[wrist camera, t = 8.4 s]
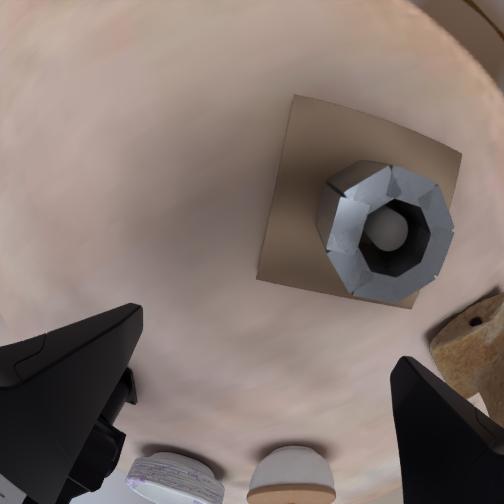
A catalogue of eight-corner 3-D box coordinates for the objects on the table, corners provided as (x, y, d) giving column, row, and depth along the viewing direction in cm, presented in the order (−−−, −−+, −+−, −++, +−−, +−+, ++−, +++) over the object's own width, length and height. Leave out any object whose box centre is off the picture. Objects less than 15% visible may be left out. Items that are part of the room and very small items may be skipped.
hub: (394, 270, 17) (422, 308, 13) (306, 250, 17) (313, 287, 13) (422, 180, 15) (465, 194, 10) (331, 150, 15) (351, 151, 10)
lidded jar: (250, 436, 28) (240, 501, 19) (339, 434, 27) (344, 500, 18) (255, 468, 32) (247, 519, 23) (327, 467, 31) (328, 519, 22)
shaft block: (404, 299, 20) (431, 341, 14) (257, 269, 20) (248, 312, 15) (451, 152, 15) (497, 159, 10) (293, 98, 16) (297, 77, 10)
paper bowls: (133, 430, 32) (114, 470, 24) (233, 459, 31) (224, 504, 24) (145, 465, 37) (132, 496, 30) (223, 486, 37) (216, 520, 29)
